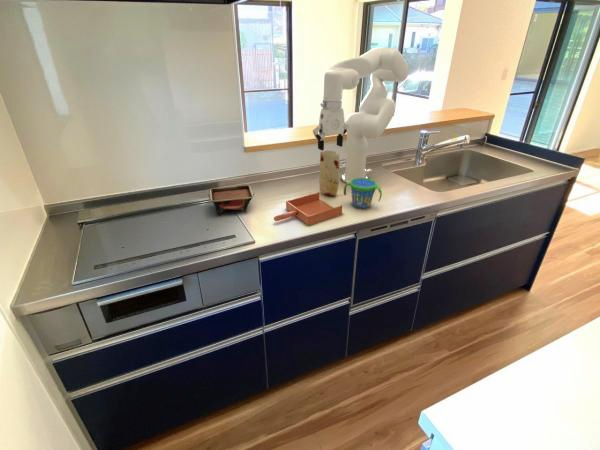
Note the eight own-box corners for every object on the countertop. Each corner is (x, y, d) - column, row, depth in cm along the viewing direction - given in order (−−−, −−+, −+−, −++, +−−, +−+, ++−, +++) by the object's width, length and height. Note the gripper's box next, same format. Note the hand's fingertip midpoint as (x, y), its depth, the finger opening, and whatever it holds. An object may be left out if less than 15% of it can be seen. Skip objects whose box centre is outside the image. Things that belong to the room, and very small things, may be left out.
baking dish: (252, 218, 139) (254, 195, 135) (207, 216, 135) (207, 192, 131) (250, 205, 152) (252, 183, 148) (209, 202, 148) (209, 180, 144)
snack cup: (383, 204, 145) (386, 181, 140) (375, 214, 137) (377, 191, 132) (348, 196, 152) (350, 174, 147) (339, 206, 144) (340, 183, 139)
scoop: (318, 199, 149) (318, 191, 147) (342, 214, 138) (342, 205, 136) (264, 216, 137) (263, 207, 135) (285, 233, 125) (284, 224, 123)
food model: (315, 194, 154) (316, 150, 144) (324, 189, 159) (325, 146, 149) (333, 199, 149) (335, 155, 139) (342, 194, 154) (344, 151, 144)
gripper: (319, 108, 128) (318, 153, 136) (355, 104, 136) (352, 146, 144) (308, 105, 133) (308, 148, 142) (343, 101, 141) (340, 142, 150)
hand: (330, 147), depth 143 cm, fingers open, 9 cm apart
